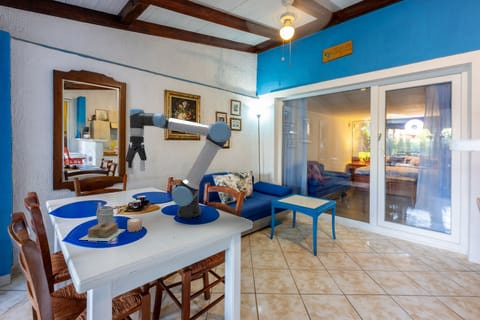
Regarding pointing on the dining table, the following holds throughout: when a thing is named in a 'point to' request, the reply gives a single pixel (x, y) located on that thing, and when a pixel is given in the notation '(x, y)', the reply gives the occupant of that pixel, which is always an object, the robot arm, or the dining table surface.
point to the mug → (105, 214)
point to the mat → (103, 238)
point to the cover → (102, 230)
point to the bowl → (134, 224)
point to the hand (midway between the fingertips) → (136, 172)
